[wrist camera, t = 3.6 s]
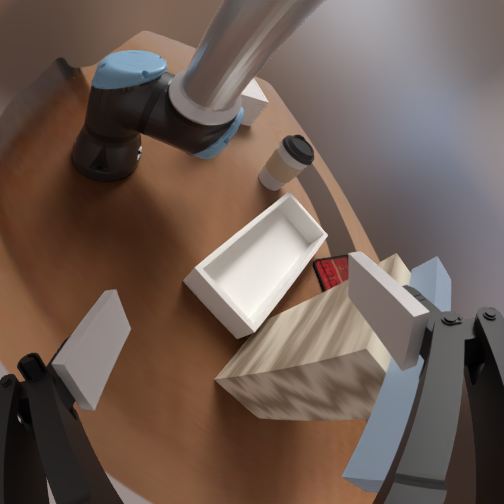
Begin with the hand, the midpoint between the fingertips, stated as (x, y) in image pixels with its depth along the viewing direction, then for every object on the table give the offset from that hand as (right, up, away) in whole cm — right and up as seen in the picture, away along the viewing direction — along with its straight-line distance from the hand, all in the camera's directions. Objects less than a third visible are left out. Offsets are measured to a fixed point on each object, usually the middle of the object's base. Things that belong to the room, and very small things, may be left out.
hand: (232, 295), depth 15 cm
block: (+15, -8, +8) cm, 19 cm away
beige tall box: (+3, -19, +33) cm, 38 cm away
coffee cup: (+6, +21, +59) cm, 63 cm away
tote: (+3, 0, +44) cm, 44 cm away
